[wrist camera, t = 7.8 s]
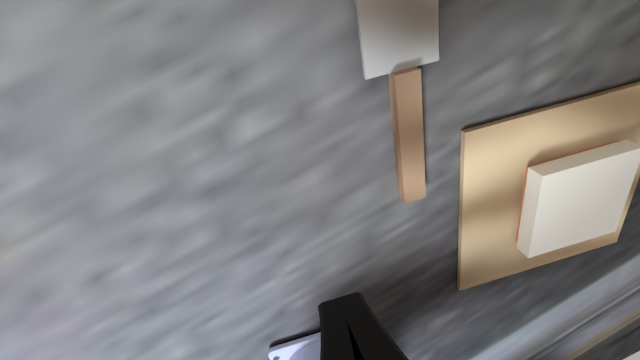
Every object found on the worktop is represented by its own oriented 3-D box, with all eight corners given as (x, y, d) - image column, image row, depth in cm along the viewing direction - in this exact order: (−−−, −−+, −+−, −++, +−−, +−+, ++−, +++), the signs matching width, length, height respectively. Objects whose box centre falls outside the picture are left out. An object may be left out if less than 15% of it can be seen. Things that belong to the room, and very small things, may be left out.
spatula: (437, 183, 22) (445, 191, 21) (379, 200, 22) (385, 209, 21) (433, -54, 15) (445, -57, 14) (349, -34, 15) (355, -36, 14)
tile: (512, 243, 25) (596, 218, 26) (528, 258, 24) (615, 231, 25) (523, 164, 22) (620, 137, 22) (542, 176, 20) (645, 146, 21)
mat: (612, 239, 28) (616, 242, 28) (457, 286, 27) (459, 290, 27) (668, 73, 21) (676, 74, 21) (461, 130, 20) (465, 132, 20)
